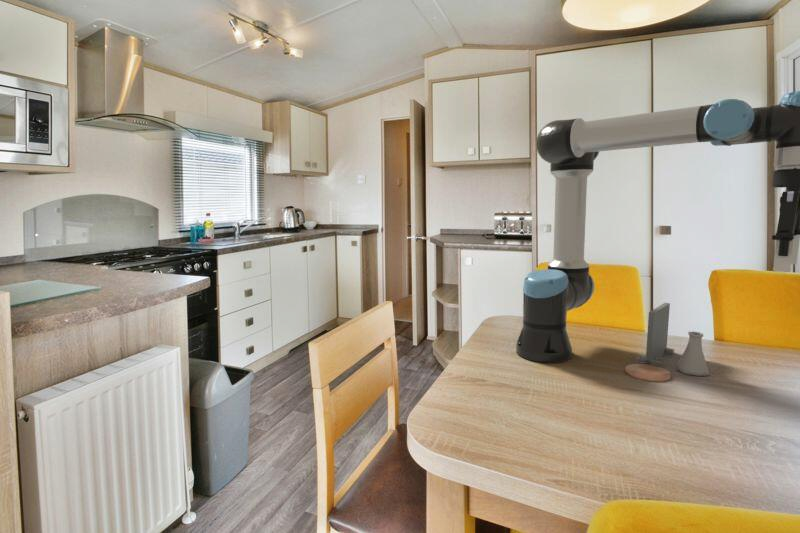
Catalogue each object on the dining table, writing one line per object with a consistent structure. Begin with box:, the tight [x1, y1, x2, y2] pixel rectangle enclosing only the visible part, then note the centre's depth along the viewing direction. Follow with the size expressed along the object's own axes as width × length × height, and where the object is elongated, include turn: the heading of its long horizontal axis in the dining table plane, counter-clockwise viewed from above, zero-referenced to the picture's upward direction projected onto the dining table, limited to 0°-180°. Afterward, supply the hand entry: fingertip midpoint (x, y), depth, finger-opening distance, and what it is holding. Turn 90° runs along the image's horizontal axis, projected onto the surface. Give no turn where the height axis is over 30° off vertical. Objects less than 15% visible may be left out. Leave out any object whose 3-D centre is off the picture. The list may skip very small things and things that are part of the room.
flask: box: [676, 331, 711, 377], centre depth 111 cm, size 7×7×10 cm
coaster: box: [624, 363, 672, 383], centre depth 111 cm, size 10×10×1 cm
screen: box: [637, 302, 675, 367], centre depth 121 cm, size 5×14×14 cm, turn 135°
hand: (785, 267), depth 97 cm, fingers open, 13 cm apart
